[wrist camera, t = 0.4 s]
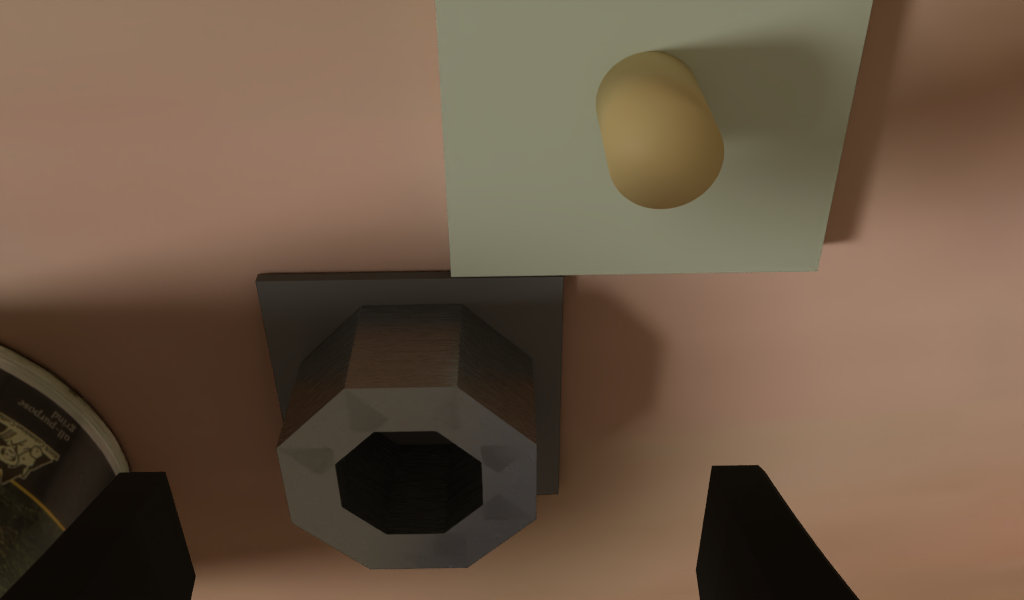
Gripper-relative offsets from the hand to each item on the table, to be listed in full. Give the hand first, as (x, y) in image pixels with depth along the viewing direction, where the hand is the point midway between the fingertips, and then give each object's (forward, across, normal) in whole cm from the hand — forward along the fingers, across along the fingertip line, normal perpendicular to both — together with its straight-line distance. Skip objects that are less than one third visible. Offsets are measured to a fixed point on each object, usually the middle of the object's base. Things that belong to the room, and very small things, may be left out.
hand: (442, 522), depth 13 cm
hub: (+10, -4, -2) cm, 10 cm away
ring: (+9, +1, +6) cm, 11 cm away
